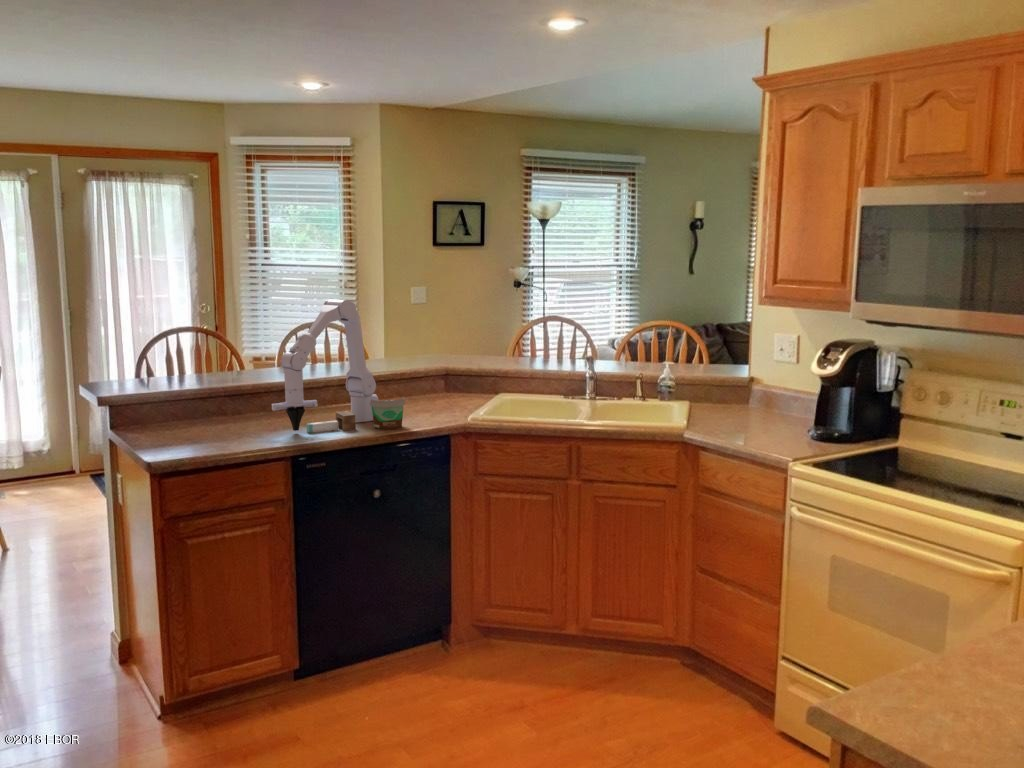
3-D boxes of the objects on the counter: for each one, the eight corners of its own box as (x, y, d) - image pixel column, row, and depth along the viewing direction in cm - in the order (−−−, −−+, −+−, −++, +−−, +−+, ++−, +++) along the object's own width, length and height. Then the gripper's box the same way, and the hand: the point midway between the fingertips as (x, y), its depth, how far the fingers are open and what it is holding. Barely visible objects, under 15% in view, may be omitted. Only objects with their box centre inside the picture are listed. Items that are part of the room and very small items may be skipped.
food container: (376, 432, 285) (375, 402, 283) (370, 429, 290) (369, 399, 289) (411, 428, 290) (410, 399, 289) (404, 425, 296) (404, 396, 294)
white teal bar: (335, 428, 291) (335, 420, 291) (338, 430, 289) (338, 421, 289) (306, 431, 286) (306, 423, 286) (309, 433, 284) (308, 424, 284)
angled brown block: (347, 425, 296) (346, 410, 295) (355, 429, 289) (355, 414, 289) (336, 426, 294) (335, 412, 293) (344, 430, 287) (343, 416, 287)
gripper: (275, 392, 274) (277, 434, 276) (319, 388, 281) (321, 429, 283) (269, 389, 280) (271, 430, 282) (313, 385, 287) (314, 426, 289)
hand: (295, 430), depth 283 cm, fingers closed
